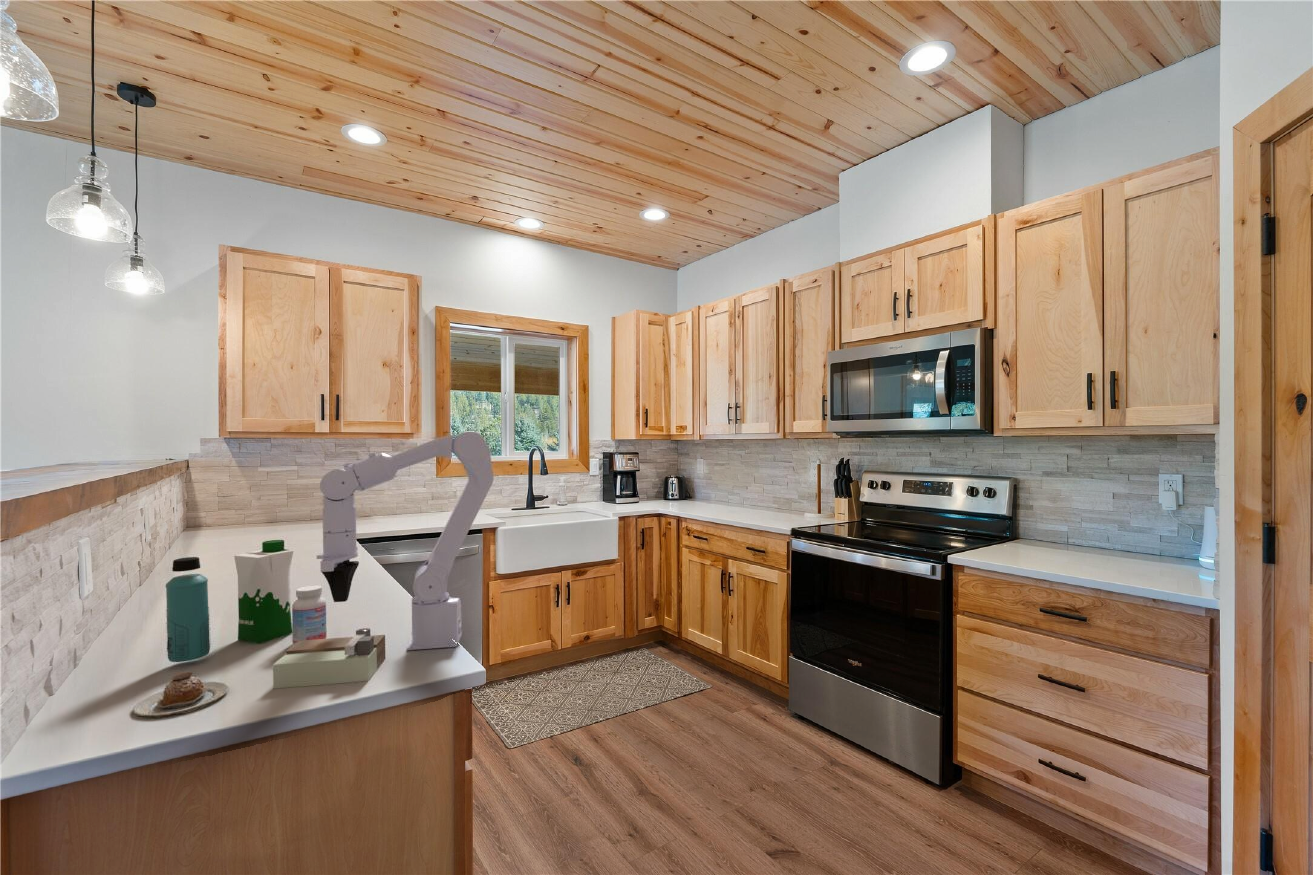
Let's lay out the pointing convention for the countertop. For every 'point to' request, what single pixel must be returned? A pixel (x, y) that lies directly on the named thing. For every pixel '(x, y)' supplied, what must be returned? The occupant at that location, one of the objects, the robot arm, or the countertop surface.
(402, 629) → the countertop surface
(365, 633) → the bar
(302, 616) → the pill bottle
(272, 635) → the milk carton
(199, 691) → the pastry
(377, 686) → the countertop surface
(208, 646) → the beverage bottle
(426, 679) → the countertop surface
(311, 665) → the pale green long block
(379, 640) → the block
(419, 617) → the robot arm
